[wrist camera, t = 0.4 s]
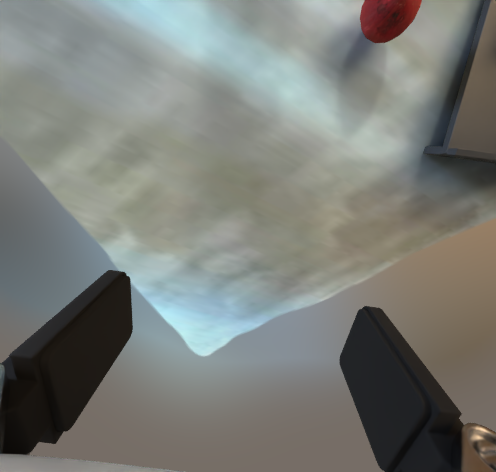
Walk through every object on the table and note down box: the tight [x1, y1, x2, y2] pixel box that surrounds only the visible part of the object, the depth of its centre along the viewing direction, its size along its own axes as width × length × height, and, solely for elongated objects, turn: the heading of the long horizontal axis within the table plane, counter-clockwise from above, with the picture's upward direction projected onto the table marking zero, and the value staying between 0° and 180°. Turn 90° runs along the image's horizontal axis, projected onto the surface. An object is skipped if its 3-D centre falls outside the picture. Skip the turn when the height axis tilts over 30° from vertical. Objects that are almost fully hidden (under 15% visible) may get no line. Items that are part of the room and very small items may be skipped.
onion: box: [360, 0, 422, 43], centre depth 26 cm, size 6×6×8 cm
